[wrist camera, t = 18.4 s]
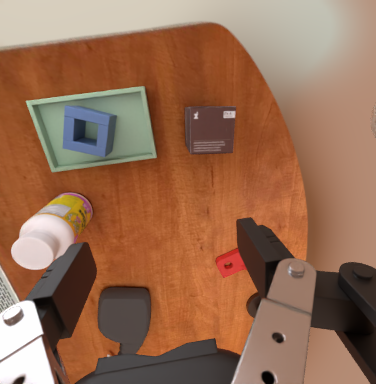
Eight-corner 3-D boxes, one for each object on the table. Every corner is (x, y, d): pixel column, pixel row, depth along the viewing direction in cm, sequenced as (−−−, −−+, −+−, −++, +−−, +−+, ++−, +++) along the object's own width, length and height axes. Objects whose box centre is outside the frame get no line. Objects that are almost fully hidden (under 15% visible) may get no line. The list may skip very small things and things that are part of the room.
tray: (145, 87, 32) (144, 86, 30) (157, 155, 36) (156, 157, 34) (33, 101, 32) (25, 101, 30) (57, 169, 35) (51, 172, 34)
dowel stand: (279, 288, 49) (311, 341, 38) (277, 312, 52) (308, 368, 41) (246, 293, 49) (269, 348, 38) (246, 317, 52) (268, 375, 41)
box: (184, 145, 36) (188, 155, 29) (184, 106, 34) (188, 106, 27) (221, 145, 36) (233, 153, 30) (223, 106, 34) (237, 106, 27)
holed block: (117, 115, 33) (109, 116, 29) (112, 151, 35) (104, 157, 31) (77, 105, 32) (64, 105, 28) (75, 143, 34) (62, 148, 30)
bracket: (268, 234, 44) (288, 260, 36) (274, 250, 45) (295, 278, 38) (213, 259, 45) (223, 288, 37) (222, 274, 46) (232, 305, 39)
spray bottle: (153, 286, 46) (146, 361, 55) (99, 284, 45) (100, 362, 53) (152, 298, 43) (144, 375, 52) (94, 296, 42) (97, 376, 51)
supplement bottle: (91, 228, 40) (59, 280, 28) (52, 221, 39) (1, 272, 27) (96, 195, 38) (63, 236, 26) (55, 186, 36) (0, 225, 25)
